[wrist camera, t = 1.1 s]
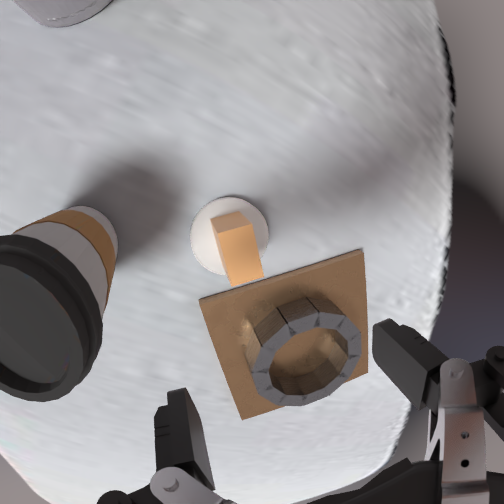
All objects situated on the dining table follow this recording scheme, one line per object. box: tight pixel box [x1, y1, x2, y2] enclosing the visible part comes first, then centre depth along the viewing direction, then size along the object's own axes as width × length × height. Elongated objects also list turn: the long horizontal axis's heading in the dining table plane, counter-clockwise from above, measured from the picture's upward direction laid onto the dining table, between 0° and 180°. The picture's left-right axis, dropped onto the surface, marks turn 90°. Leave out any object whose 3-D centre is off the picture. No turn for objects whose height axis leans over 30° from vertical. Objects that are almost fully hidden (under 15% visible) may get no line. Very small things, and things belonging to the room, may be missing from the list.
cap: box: [190, 197, 269, 286], centre depth 25 cm, size 6×6×6 cm
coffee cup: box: [0, 206, 118, 402], centre depth 18 cm, size 8×8×15 cm
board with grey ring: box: [199, 250, 368, 420], centre depth 31 cm, size 16×16×4 cm
